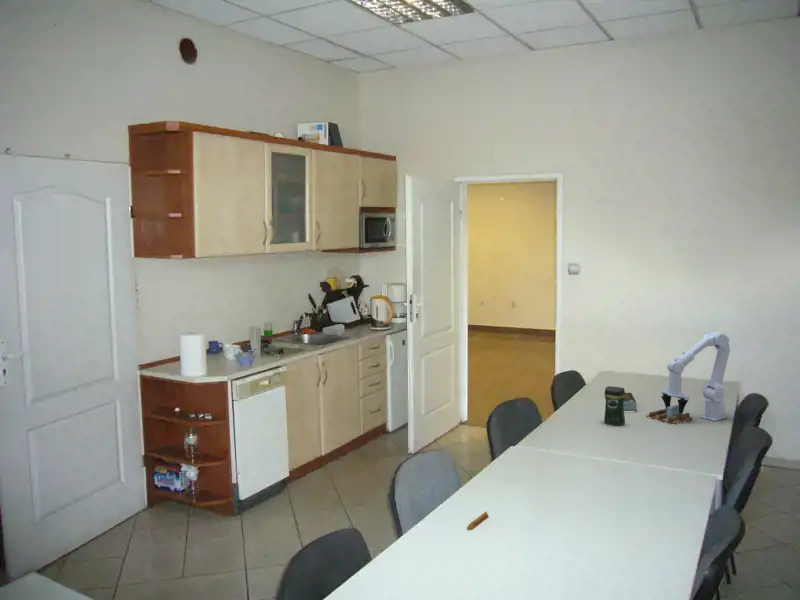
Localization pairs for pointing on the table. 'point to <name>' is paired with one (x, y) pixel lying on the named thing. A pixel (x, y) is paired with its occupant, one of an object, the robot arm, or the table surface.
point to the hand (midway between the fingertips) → (674, 411)
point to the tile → (673, 411)
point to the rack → (662, 416)
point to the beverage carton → (629, 402)
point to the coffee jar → (614, 405)
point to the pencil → (478, 521)
